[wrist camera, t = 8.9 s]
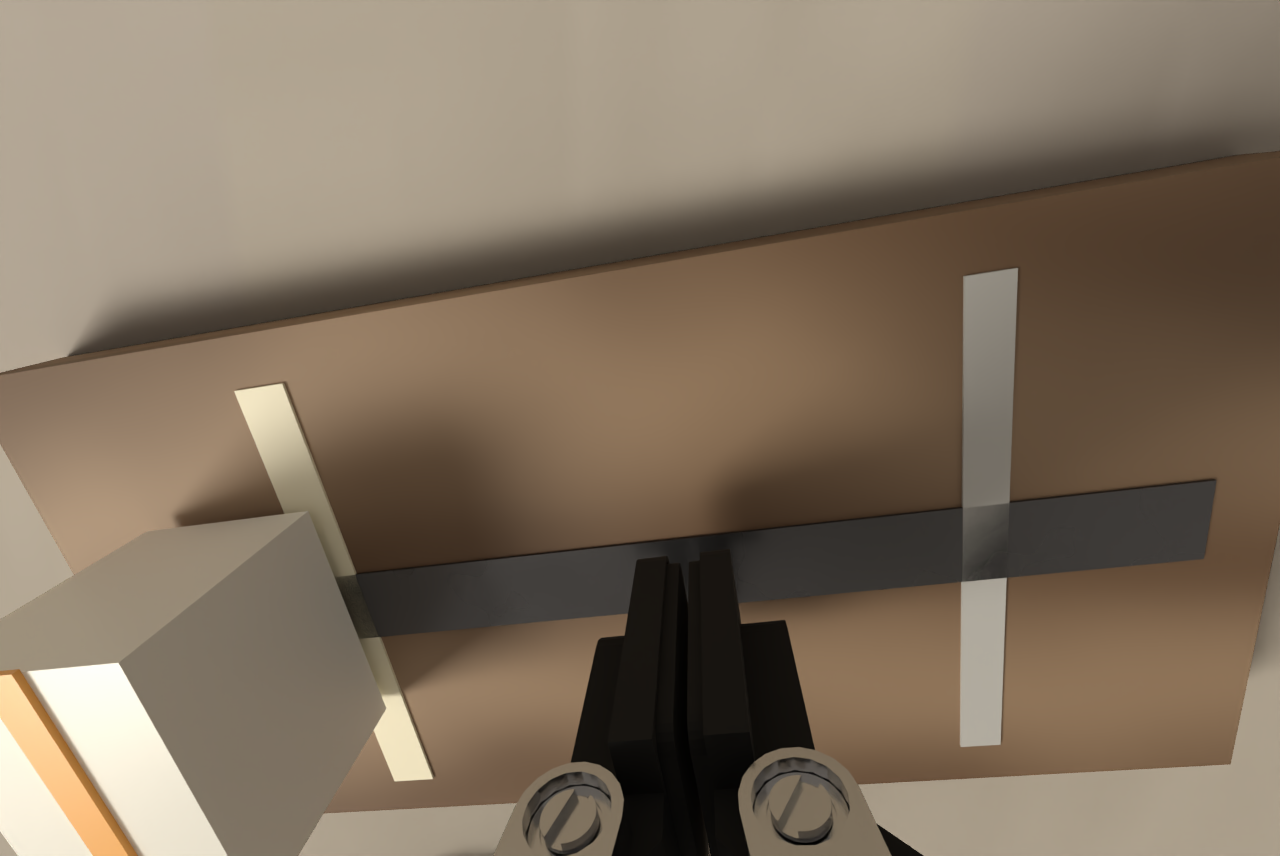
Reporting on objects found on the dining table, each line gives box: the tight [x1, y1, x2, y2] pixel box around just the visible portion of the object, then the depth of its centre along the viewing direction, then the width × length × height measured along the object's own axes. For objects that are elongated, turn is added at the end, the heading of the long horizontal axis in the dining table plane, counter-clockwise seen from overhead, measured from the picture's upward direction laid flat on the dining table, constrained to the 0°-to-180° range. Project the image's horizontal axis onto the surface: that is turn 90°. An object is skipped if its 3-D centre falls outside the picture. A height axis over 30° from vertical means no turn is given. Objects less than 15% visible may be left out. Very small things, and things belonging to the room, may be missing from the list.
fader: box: [0, 511, 386, 856], centre depth 11 cm, size 5×4×4 cm
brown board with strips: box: [0, 151, 1280, 813], centre depth 13 cm, size 12×24×2 cm, turn 100°
